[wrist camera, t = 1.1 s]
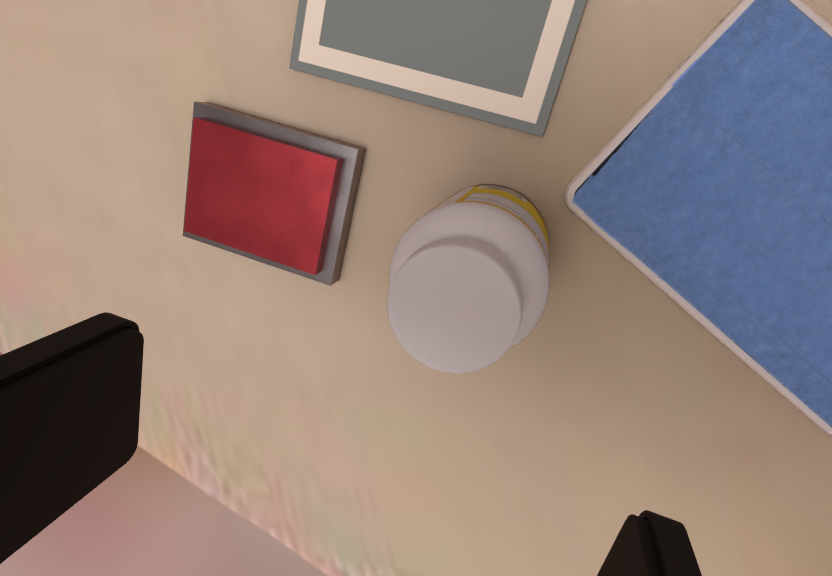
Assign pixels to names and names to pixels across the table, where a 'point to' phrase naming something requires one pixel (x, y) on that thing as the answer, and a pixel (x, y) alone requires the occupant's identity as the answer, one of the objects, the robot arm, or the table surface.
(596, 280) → the table surface
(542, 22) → the marked board
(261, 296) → the table surface
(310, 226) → the ink pad
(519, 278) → the pill bottle
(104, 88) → the table surface
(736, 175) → the blue flat pad
